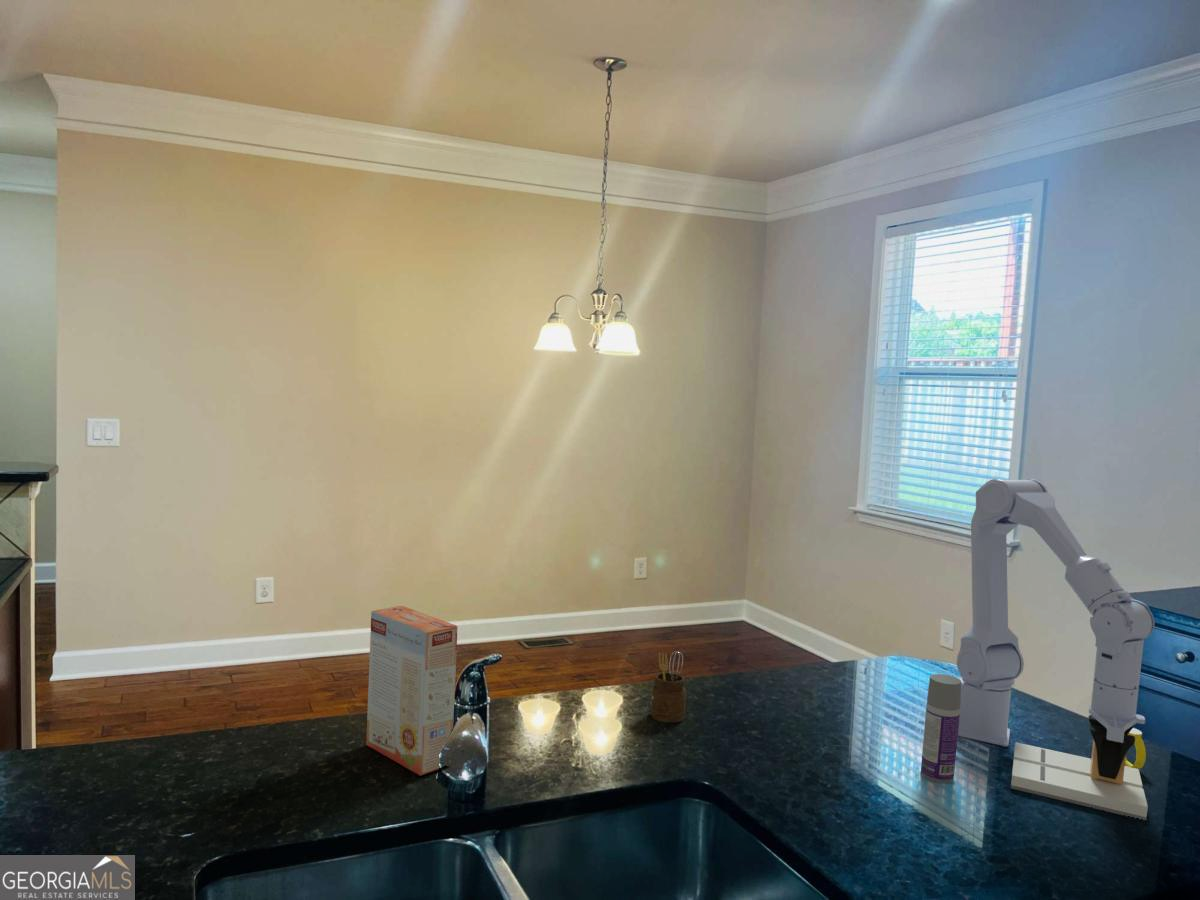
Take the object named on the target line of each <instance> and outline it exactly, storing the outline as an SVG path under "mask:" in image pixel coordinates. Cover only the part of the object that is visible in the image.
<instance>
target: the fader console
mask: <svg viewBox="0 0 1200 900" xmlns="http://www.w3.org/2000/svg"><path fill="white" fill-rule="evenodd" d="M1013 751H1014V752H1013V753H1014V754H1013V762H1012V763H1013V764H1012V772H1011V783H1010V789H1013V790H1018V791H1020V792H1024V793H1028V794H1029V793H1030V794H1032V795H1037V796H1041V797H1046V798H1050V799H1054V800H1059V801H1061V802H1065V803H1066V802H1067V803H1071V804H1074V805H1078V806H1079V805H1080V806H1084V807H1087V808H1091V807H1092V808H1091V809H1096V810H1099V811H1103V810H1104V811H1105V812H1108V813H1111V814H1116V815H1121V816H1124V815H1125V816H1124V817H1128V816H1130V817H1129V818H1132V817H1134V818H1133V819H1136V818H1139V819H1138V820H1141V819H1143V820H1142V821H1145V820H1146V821H1147V816H1148V807H1149V806H1148V801H1147V799H1146V795H1145V790H1144V788H1143V782H1142V778H1141V774H1140V769H1136V768H1131V767H1127V766H1125V767H1124V776H1123V784H1119V783H1115V782H1110V781H1106V780H1102V779H1097V778H1093V777H1091V772H1090V767H1091V758H1089V757H1085V756H1080V755H1076V754H1071V753H1066V752H1061V751H1058V750H1052V749H1049V748H1044V747H1038V746H1035V745H1031V744H1025V743H1020V742H1017V741H1016V742H1015V743H1014V750H1013Z"/></svg>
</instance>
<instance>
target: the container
mask: <svg viewBox="0 0 1200 900" xmlns="http://www.w3.org/2000/svg"><path fill="white" fill-rule="evenodd" d="M958 678H959V677H957V678H956V677H955V676H953V675H949V674H942V673H941V674H940V673H934V674H931V675H930V676H929V681H928V691H927V697H926V698H927V700H926V708H925V717H924V731H923V741H922V754H921V762H920V763H921V766H920V774H921V776H922V777H924V778H925V779H927V780H929V781H932V782H935V783H941V784H949V783H952V782H953V781H954V778H955V769H956V759H957V758H956V757H957V747H958V739H959V736H958V728H959V717H960V700H961V684H962V681H961V680H960V679H958Z"/></svg>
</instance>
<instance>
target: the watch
mask: <svg viewBox="0 0 1200 900" xmlns="http://www.w3.org/2000/svg"><path fill="white" fill-rule="evenodd" d="M1128 735H1131V736H1135V742H1134V747H1135V751H1136V753H1135V761H1134V763H1133V764H1132V763H1131V762H1130V761H1128V759H1127V756H1126V757H1125V766H1127V767H1131V768H1136V769H1139V770H1141V769H1142V768H1143V766H1144V765H1145V762H1146V760H1147V759H1146V757H1147V751H1146V750H1147V749H1146V745H1145V743H1144V740H1143V739H1142V737H1143V732H1142V731H1141V730H1139V729H1137V728H1135V727H1133V728H1132V730H1131V731H1130V732H1129V734H1128Z"/></svg>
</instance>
